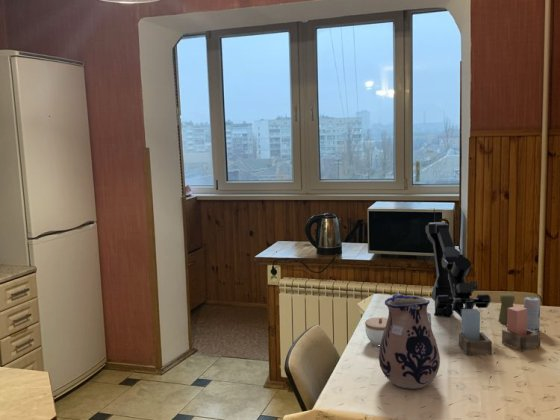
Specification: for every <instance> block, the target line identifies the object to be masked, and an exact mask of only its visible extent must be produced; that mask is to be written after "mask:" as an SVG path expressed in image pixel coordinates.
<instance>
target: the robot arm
mask: <svg viewBox="0 0 560 420" xmlns="http://www.w3.org/2000/svg"><path fill="white" fill-rule="evenodd" d="M424 231H425V233H426V235H427V239H428V240H429V242H430V243H431V244H432V249H433V255H434V263H435V272H436V280H435V282H434V284H433V285H434V286H433V288H432V291H431V299H432V300H433V302H434V313H433V315H434V316H438V317H445V318H451V316H452V315H454V312H455V313H456V314H457V315H458V316H459V317H460V318H461V319H462V309H474V307H476V308H477V309H486V308H488V306H489V305H490V304H491V301H492V299H491V296H490V295H489V294H488V293H480V294H477V295H476V297H472V295H473V293H474V291H478V290H479V286H478V282H477V281H476V280H472V281H470V282H467V281H466V276H467V275H468V273H469V271H470V269H471V266H472V263H471V261H470V259H469V258H468V257H465V256H464V254H461V252H460V251H459V250H458V249H456V247H455V244H454V241H453V239H452V236H451V235H452V234H451V233H450V225H449V224H448V223H445V222H443V221H442V222H441V221H440V222H439V221H437V222H435V221H434V222H428V224H427V225H425V230H424Z"/></svg>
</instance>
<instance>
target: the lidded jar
mask: <svg viewBox="0 0 560 420" xmlns="http://www.w3.org/2000/svg"><path fill="white" fill-rule="evenodd" d="M387 320H388V317H372V318H368V319H366V320H365V321H364V325H365V334H366V337H367V339H368V340H369V341H370V343H371V344H372V343H373V344H375V345H374V346H376V345H380V344H381V340H382V335H383V333H384V330H385V327H386V323H387ZM373 344H372V345H373Z"/></svg>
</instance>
